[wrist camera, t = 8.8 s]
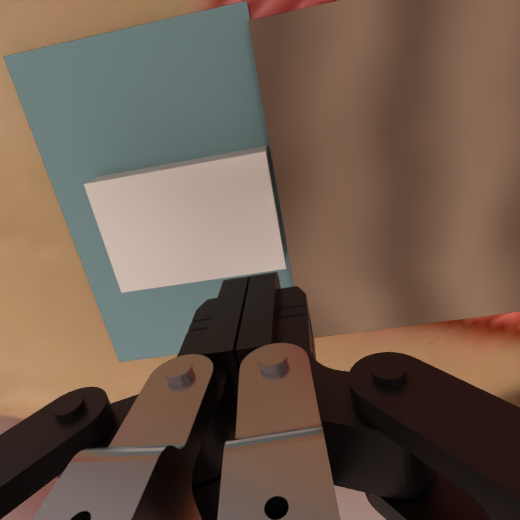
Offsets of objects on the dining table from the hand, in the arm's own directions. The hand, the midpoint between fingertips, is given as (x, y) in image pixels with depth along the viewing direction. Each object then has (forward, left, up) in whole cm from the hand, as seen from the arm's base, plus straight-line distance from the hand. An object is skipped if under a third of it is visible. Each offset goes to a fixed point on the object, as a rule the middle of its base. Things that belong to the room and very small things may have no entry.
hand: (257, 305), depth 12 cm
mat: (+5, 0, -12) cm, 13 cm away
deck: (-7, 0, -12) cm, 14 cm away
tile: (+4, 0, -11) cm, 12 cm away
